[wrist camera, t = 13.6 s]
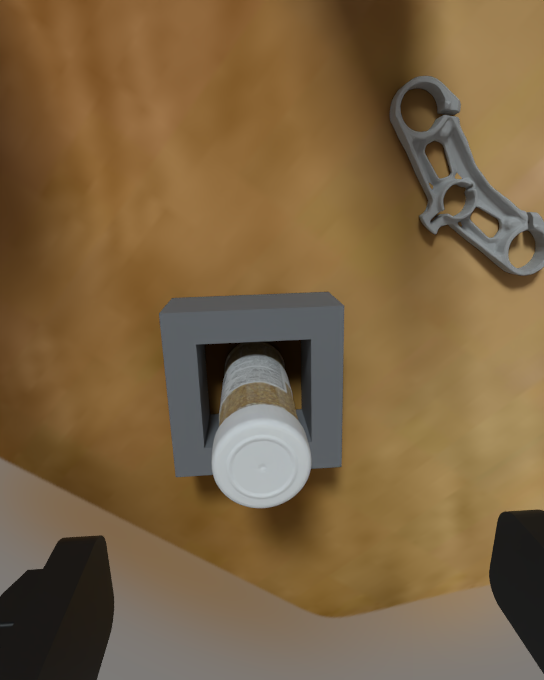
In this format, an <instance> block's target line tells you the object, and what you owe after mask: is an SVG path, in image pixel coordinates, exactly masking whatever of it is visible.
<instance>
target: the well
mask: <svg viewBox="0 0 544 680" xmlns="http://www.w3.org/2000/svg"><path fill="white" fill-rule="evenodd" d="M159 317H160V327H161V337H162V347H163V356H164V366H165V376H166V386H167V395H168V405H169V415H170V425H171V434H172V444H173V454H174V464H175V474H176V477H186V476H202V475H213V472H212V463H211V462H212V449H213V442H214V437H215V434H216V432H217V430H218V428H219V414H210V409H209V396H208V382H207V369H206V355H205V344H218V343H240V342H262V341H284V340H301V390H302V409H300V410H296V414H297V417H298V421H299V422H300V424H301V425H302V427H303V428H304V431H305V433H306V437H307V440H308V443H309V447H310V452H311V459H312V461H311V469H315V468H331V467H341V458H342V400H343V342H344V305H343V304H342V303H340V302H339V301H338V300H337V299H336V298H335V297H334V296H332V295H331V294H330V293H329V292H314V293H289V294H264V295H239V296H214V297H189V298H172V299H171V300H170V301H169V303H168V304H167V305H166V306H165V307H164V308H163V310H162V311H161V312H160V313H159Z"/></svg>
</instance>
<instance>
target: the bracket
mask: <svg viewBox="0 0 544 680" xmlns="http://www.w3.org/2000/svg"><path fill="white" fill-rule="evenodd" d="M414 88H421V89H424V90H426V91H428V92H429V93H430V94H432V96H433V97H434V99H435V101H436V103H437V112H438V113H439V114H447V115H443V116H441V117H439V118H437V119H436V120H435V122H434V124H433V125H432V127H431V128H430V129H429V130H428V131H425V132H417V131H414V130H412V129H410V128H409V127H408V126H407V125H406V124H405V122H404V121H403V118H402V115H401V109H400V105H401V101H402V98H403V96H404V94H405V93H406V92H407V91H408V90H410V89H414ZM460 107H461V104H460V101H459V99H458V98H457V97H456V96H455V95H454V94H453V93H452V92H451V91H450V90H449V89H448V88H447V87H446V86H445V85H444V84H443V83H442V82H440V81H439V80H438V79H436V78H434V77H431V76H419V77H416V78H414V79H412V80H410V81H409V82H408V83H406V84H405V85H404V86H403V87H401V88H400V89H399V90H398V91H397V93H396V94H395V96H394V98H393V100H392V103H391V107H390V122H391V123H392V125H393V127H394V129H395V131H396V133H397V136H398V138H399V140H400V142H401V143H402V145H403V147H404V149H405V151H406V153H407V155H408V158H409V160H410V162H411V164H412V167H413V169H414V171H415V174H416V176H417V178H418V180H419V182H420V184H421V186H422V188H423V190H424V192H425V194H426V196H427V198H428V204H427V207H426V210H425V211H424V213H422V214H421V215H419V218H420V220H421V222H422V224H423V225H424V226H425V227H426V228H427V229H428V230H429V231H430V232H432V233H433V234H435V235H436V234H437V231H438V229H439V228H440V227H441V226H444V225H449V226H450V227H451V228H452V229H454V230H455V231H456V232H457V233H458V234H459V235H461V236H462V237H463V238H464V239H466V240H467V241H468V242H469V243H471V244H472V245H473V246H475V247H476V248H477V249H479V250H480V251H481V252H482V253H484V254H485V255H486V256H487V257H488V258H489V259H490V260H491V261H492V262H494V263H495V264H496V265H497V266H498V267H500V268H501V269H502V270H504V271H505V272H508V273H511V274H516V275H530V274H533V273H536V272H537V271H539V270H541V269H542V268H543V267H544V222H543V219H542V217H541V216H540V215H539V214H538V213H535V212H525V211H522V210H520V209H519V208H517V207H516V206H515V205H514V204H513V203H512V202H511V201H510V200H509V199H507V198H506V197H504V196H503V195H502V194H501V193H499V192H498V191H497V190H495V189H494V188H493V187H492V186H491V185H490V184H489V183H488V181H487V180H486V179H485V177H484V176H483V174H482V173H481V172H480V170H479V169H478V167H477V166H476V164H475V162H474V159H473V156H472V153H471V150H470V148H469V144H468V141H467V139H466V137H465V135H464V133H463V131H462V129H461V127H460V121H459V118H458V117H454V116H449V115H455V114H457V113H459V112H460ZM432 141H437V142H439V143H441V144H442V145H443V147H444V151H445V154H446V158H447V162H448V165H449V168H450V175H449V176H447V177H445V178H442V179H440V178H438V176H437V174H436V173H435V171H434V169H433V167H432V165H431V164H430V162H429V160H428V158H427V156H426V154H425V148H426V145H427V144H429V143H431V142H432ZM456 172H457V173H458V174H459V175H460V176H461V177H462V179H455V178H454V177H455V175H456ZM429 182H430V183H431V184H432V185H433V186H434V187H433V189H431V188H430V186H429V184H428V183H429ZM452 185H458V186H460V187H465V188H466V190H465V196H466V201H465V205H464V207H463V209H462V211H461V212H460V213H458V214H457V215H455V216H451V215H450V214H439V215H438V216H437V217H436V218H435V219H434V220H432V221H431V222H430V220H431V219H432V218H433V217H434V216H435V215H436V214H437V213H439V212H440V211H443V210H444V205H443V198H444V195H445V193H446V191H447V190H448V189H449V188H450V187H451V186H452ZM475 207H477V208H479V209H481V210H483V211H484V212H486V213H488V214H489V215H491V216H493V217H495V218H496V219H498V221H499V231H498V232H497V233H496V235H495V236H494V237H493V238H488V237H487V236H486V235H485V234H484V233H483V232H482V231H481V230H480V229H479V228H478V227H477V226H476V225H475V224H474V223H473V222H472V221H471V220H470V216H471V213H472V212H473V210H474V209H475ZM458 222H461V224H462V227H460V226H459V225H458ZM525 230H528V231H530V232H531V234H532V235H533V237H534V239H535V245H536V248H535V253H534V255H533V257H532V259H531V260H530V261H529V262H528V263H527V264H526V265H525V266H523V267H521V268H515V267H514V266H513V265H511V263H510V261H509V258H508V250H509V246H510V244H511V241H512V240H513V239H514V238H515V237H516V236H517V235H518V234H519V233H521V232H523V231H525Z"/></svg>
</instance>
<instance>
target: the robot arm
mask: <svg viewBox="0 0 544 680" xmlns="http://www.w3.org/2000/svg"><path fill="white" fill-rule="evenodd" d="M489 578H490V584H491V588H492V592H493V594H494V597H495V599H496V601H497V604H498V605H499V607H500V608H501V610H502V612H503V613H504V615H505V616H506V618H507V619H508V620H509V622H510V623H511V625H512V626H513V628H514V630H515V631H516V633H517V634H518V636H519V637H520V639H521V640H522V642H523V643H524V645H525V646H526V648H527V649H528V651H529V652H530V654H531V655H532V657H533V658H534V660H535V661H536V663H537V664H538V666H539V667H540V669H541V670H542V672H543V673H544V511H543V510H524V511H508V512H503V513H501V514H500V516H499V518H498V522H497V528H496V534H495V540H494V546H493V552H492V558H491V563H490V570H489ZM113 615H114V594H113V587H112V581H111V573H110V567H109V560H108V553H107V546H106V541H105V538H104V537H103V536H87V537H86V536H85V537H70V538H62V539H60V540H59V541H58V543H57V544H56V546H55V548H54V550H53V552H52V553H51V555H50V557H49V559H48V561H47V563H46V565H45V566H44V568H43V569H36V570H27V571H26V572H25V573H24V574H23V575H22V576H21V577H20V578H19V579H18V580H17V581H16V582H15V583H13V584H12V585H11V586H10V587H9V588H8V589H7V590H6V591H5V592H4V593H3V594H2V595H1V596H0V680H97V677H98V673H99V670H100V667H101V663H102V660H103V657H104V653H105V650H106V647H107V643H108V640H109V636H110V633H111V628H112V623H113Z"/></svg>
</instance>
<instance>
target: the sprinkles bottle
mask: <svg viewBox="0 0 544 680" xmlns="http://www.w3.org/2000/svg"><path fill="white" fill-rule="evenodd" d="M224 375H225V376H224V380H223V386H222V395H221V403H220V411H219V428H218V430H217V432H216V434H215V437H214V442H213V449H212V462H211V463H212V472H213V476H214V479H215V482H216V484H217V485H218V487H219V488H220V490H221V491H222V492H223V493H224V494H225V495H226V496H227V497H228V498H230V499H231V500H232V501H234V502H236V503H238V504H240V505H243V506H247V507H252V508H268V507H274V506H277V505H280V504H282V503H284V502H286V501H288V500H290V499H291V498H293V497H294V496H295V495H296V494H297V493H298V492H299V491H300V490H301V489H302V488H303V486H304V485H305V483H306V481H307V479H308V477H309V474H310V470H311V461H312V459H311V452H310V447H309V443H308V440H307V437H306V433H305V431H304V428H303V427H302V425H301V424H300V422H299V421H298V417H297V414H296V410H295V404H294V402H293V396H292V391H291V387H290V383H289V380H288V376H287V374H286V372H285V364H284V360H283V358H282V356H281V354H280V353H279V352H278V351H277V349H276V348H274V347H273V346H272V345H270V344H268V343H267V342H243V343H241V344H239V345H237V346H236V347H235V348H234V349H233V350H232V351H231V352H230V353H229V355H228V356H227V358H226V362H225V365H224Z"/></svg>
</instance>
